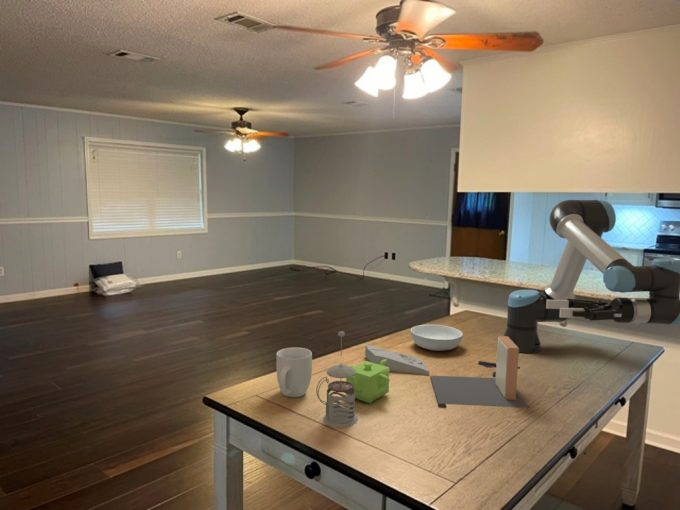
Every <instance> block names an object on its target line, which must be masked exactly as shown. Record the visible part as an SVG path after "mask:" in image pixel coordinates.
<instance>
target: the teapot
mask: <svg viewBox="0 0 680 510" xmlns="http://www.w3.org/2000/svg"><path fill="white" fill-rule="evenodd" d="M385 362H386V359H384V360H382V361H381V362H380V364H375V363H371V362H369V361H368V360H366V361H363V362H361V363H359V364H356V365H350V366H349V365H348V366H349V367H352V368H353V369H354V370H355V371H356V373H355V375H354V376H352V377H348V378H345V381H347V382H350V383H352V384H353V385H354V388H353V389H354V390H355V398H357V399H356V400H360V401H362V402H365V403H367V404H373V403H372V402H374V401H375V400H378V399H381V398H383V396H384V395H386V394H387V393H389V392H390V391H389V390H390V387H389V386H390V380H391V379H390V371H389V367H386V366H384V364H385ZM345 395H346V396H350V394H346V393H345ZM380 397H381V398H380Z"/></svg>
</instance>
